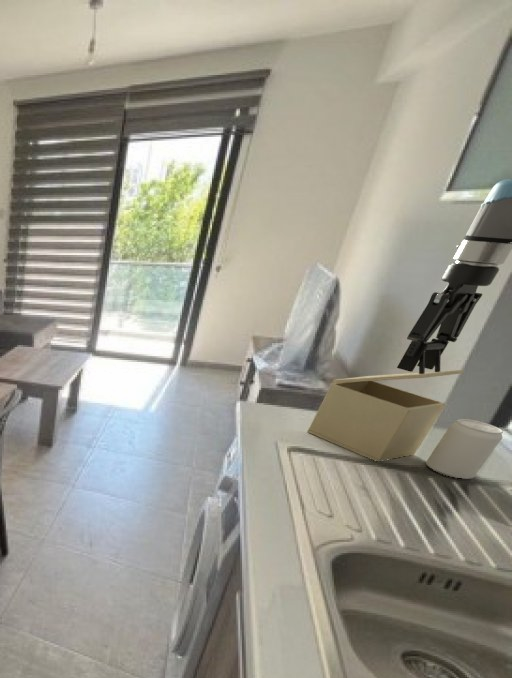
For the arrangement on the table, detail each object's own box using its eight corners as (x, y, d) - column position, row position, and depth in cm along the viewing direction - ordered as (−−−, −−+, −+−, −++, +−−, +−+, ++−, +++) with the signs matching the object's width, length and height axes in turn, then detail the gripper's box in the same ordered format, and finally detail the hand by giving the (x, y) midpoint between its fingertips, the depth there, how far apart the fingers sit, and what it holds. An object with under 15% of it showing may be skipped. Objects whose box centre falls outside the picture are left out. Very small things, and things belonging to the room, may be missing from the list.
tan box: (414, 454, 119) (447, 403, 112) (377, 462, 114) (409, 409, 107) (342, 426, 132) (368, 379, 126) (307, 431, 128) (331, 383, 121)
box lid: (463, 373, 109) (464, 338, 108) (425, 377, 104) (425, 341, 103) (369, 379, 125) (369, 348, 125) (332, 383, 121) (332, 352, 120)
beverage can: (475, 475, 111) (509, 429, 105) (467, 484, 107) (502, 437, 101) (429, 459, 117) (459, 415, 111) (420, 468, 112) (450, 422, 107)
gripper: (478, 261, 106) (420, 360, 117) (425, 261, 100) (369, 366, 111) (525, 266, 100) (459, 371, 111) (471, 266, 94) (407, 377, 105)
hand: (414, 368), depth 111 cm, fingers closed on box lid, 7 cm apart
